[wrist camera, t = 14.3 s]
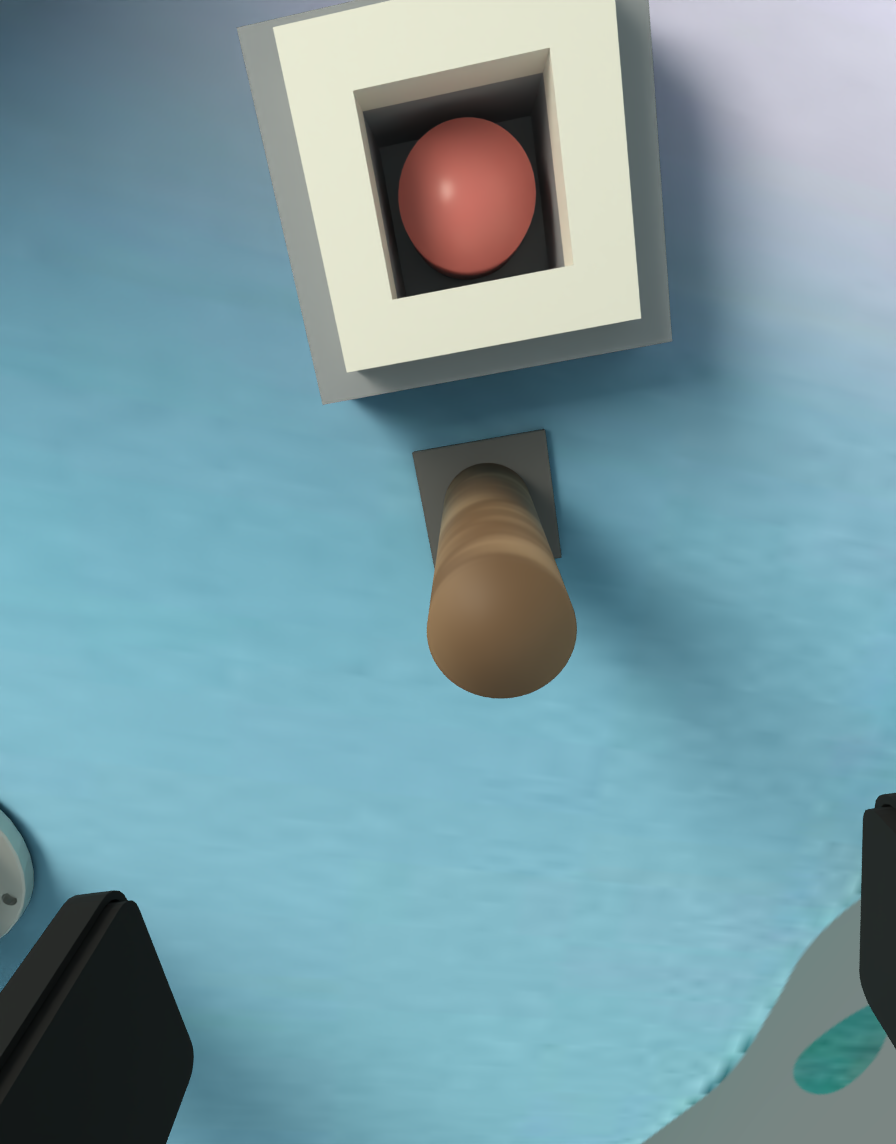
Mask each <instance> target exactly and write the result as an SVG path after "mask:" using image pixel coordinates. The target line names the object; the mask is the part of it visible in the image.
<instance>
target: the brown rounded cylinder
mask: <svg viewBox="0 0 896 1144" xmlns="http://www.w3.org/2000/svg"><path fill="white" fill-rule="evenodd" d="M576 634H577V625H576V617H575V612H574V609H573V607H572V604H571V601H570V599H569V596H568V593H567V591H566V588H565V585H564V583H563V580H562V578H561V575H560V572H559V570H558V567H557V564H556V562H555V559H554V557H553V554H552V551H551V549H550V546H549V543H548V541H547V538H546V536H545V533H544V530H543V528H542V525H541V522H540V520H539V517H538V515H537V512H536V509H535V507H534V504H533V501H532V499H531V496H530V493H529V491H528V488H527V486H526V484H525V483H524V481H523V480H522V478H521V477H520V476H519V475H518V474H517V473H515V472H514V471H513V470H511V469H510V468H508V467H505V466H503V465H500V464H495V463H480V464H476V465H473V466H470V467H468V468H466V469H464V470H463V471H462V472H460V473H459V474H458V475H457V476H456V477H455V478H454V479H453V480H452V482H451V483H450V485H449V487H448V489H447V491H446V495H445V499H444V506H443V513H442V521H441V528H440V535H439V542H438V550H437V557H436V564H435V571H434V579H433V586H432V593H431V600H430V608H429V615H428V622H427V639H428V645H429V649H430V652H431V654H432V657H433V659H434V661H435V663H436V664H437V666H438V667H439V669H440V670H441V671H442V672H443V674H444V675H445V676H446V677H447V678H448V679H449V680H450V681H452V682H453V683H454V684H456V685H457V686H459V687H460V688H462V689H464V690H466V691H468V692H471V693H473V694H476V695H480V696H483V697H489V698H513V697H518V696H522V695H526V694H529V693H531V692H534V691H536V690H538V689H540V688H541V687H543V686H545V685H546V684H548V683H549V682H550V681H551V680H553V679H554V678H555V677H556V676H557V675H558V674H559V673H560V672H561V671H562V669H563V668H564V667H565V665H566V664H567V662H568V660H569V658H570V657H571V654H572V652H573V649H574V645H575V641H576Z"/></svg>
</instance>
